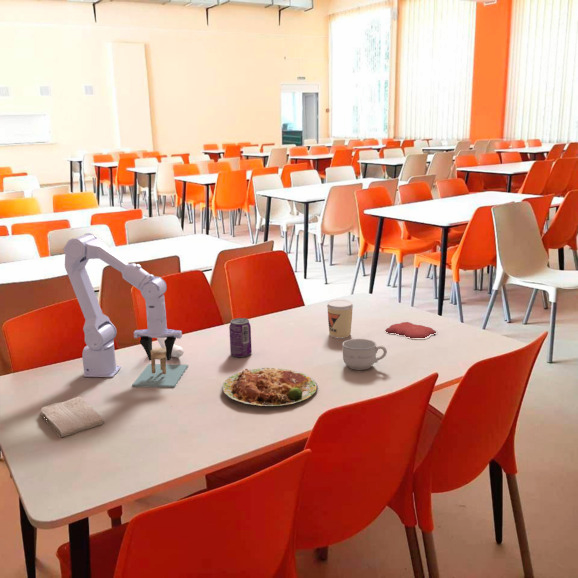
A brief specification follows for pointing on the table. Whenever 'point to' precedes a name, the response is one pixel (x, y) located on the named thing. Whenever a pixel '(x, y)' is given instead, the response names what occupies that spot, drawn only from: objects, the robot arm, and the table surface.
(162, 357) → the tan piece
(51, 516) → the table surface
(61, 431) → the washcloth
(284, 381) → the rice dish
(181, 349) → the banana
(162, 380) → the mat
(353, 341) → the teacup
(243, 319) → the beverage can
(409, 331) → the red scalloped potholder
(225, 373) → the table surface
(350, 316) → the coffee cup
